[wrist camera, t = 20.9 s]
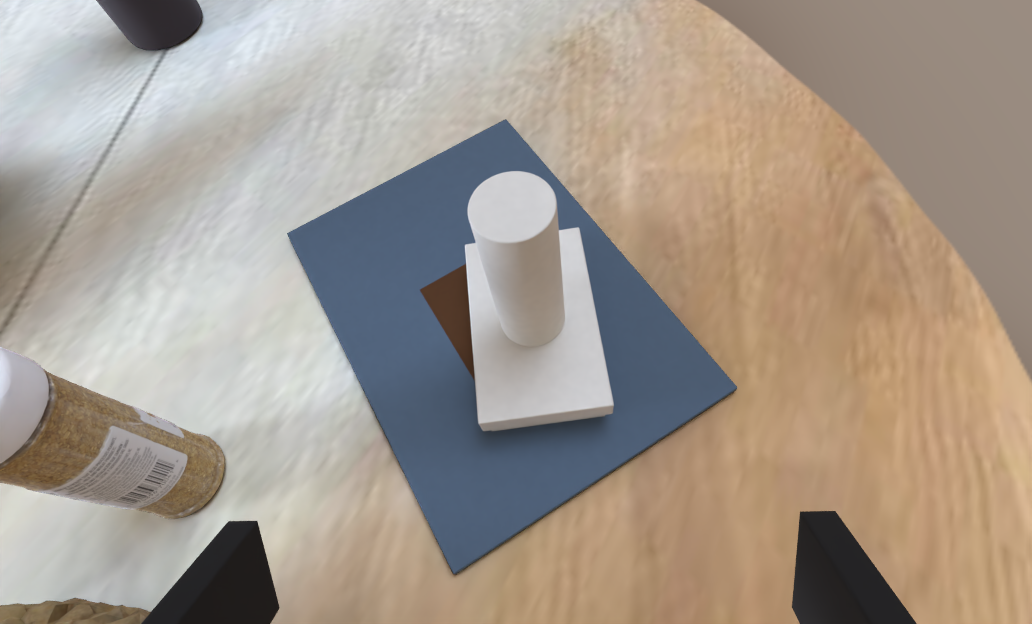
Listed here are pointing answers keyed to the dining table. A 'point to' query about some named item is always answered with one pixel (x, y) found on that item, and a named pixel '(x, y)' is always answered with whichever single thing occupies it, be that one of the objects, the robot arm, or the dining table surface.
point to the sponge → (71, 613)
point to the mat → (449, 354)
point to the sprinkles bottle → (98, 446)
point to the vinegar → (154, 20)
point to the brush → (531, 310)
